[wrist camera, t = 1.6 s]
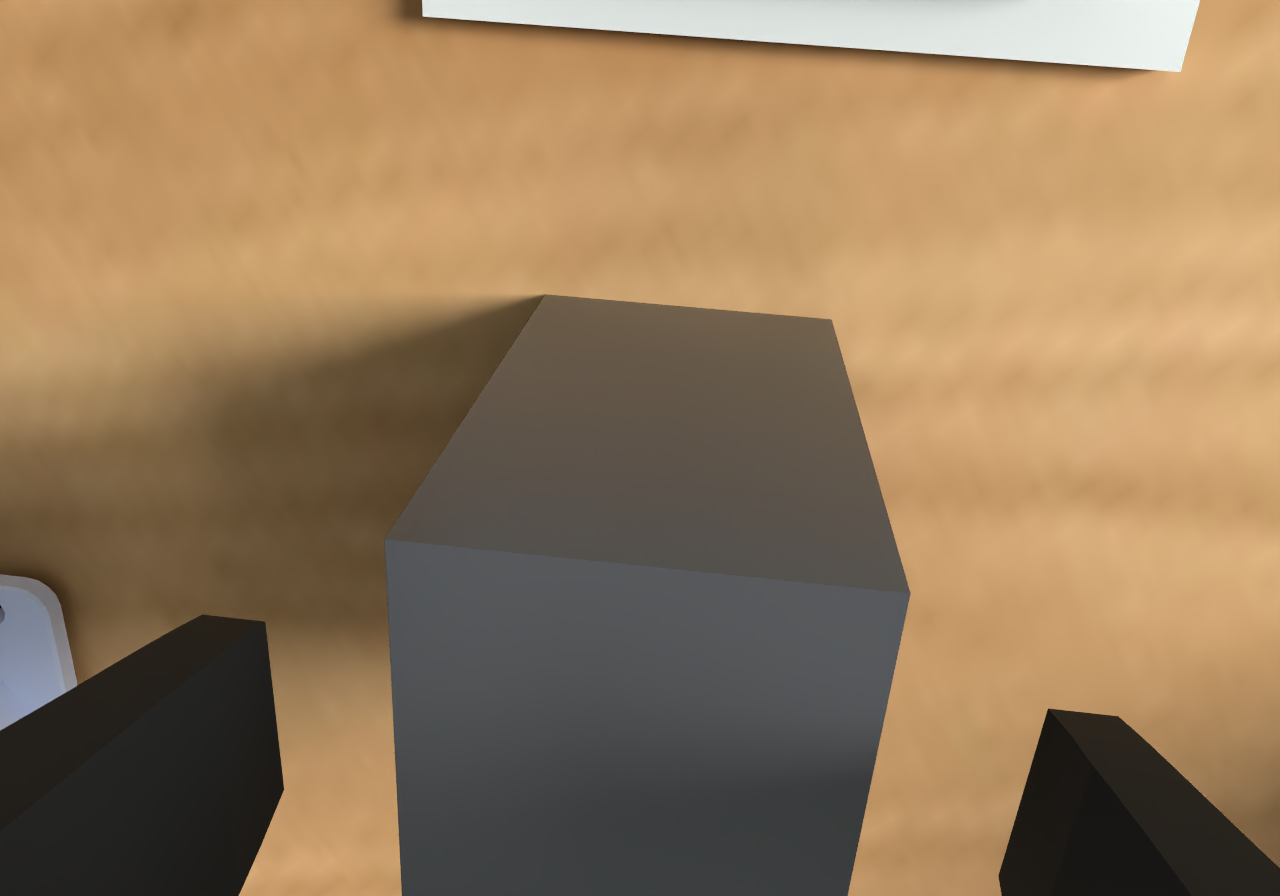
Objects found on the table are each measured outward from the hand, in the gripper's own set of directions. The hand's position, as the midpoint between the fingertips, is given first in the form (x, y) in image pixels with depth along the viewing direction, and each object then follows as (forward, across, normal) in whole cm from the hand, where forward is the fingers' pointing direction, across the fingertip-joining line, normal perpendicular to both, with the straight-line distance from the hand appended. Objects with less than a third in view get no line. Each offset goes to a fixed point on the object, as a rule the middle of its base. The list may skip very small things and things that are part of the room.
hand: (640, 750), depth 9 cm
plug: (+6, 0, 0) cm, 6 cm away
